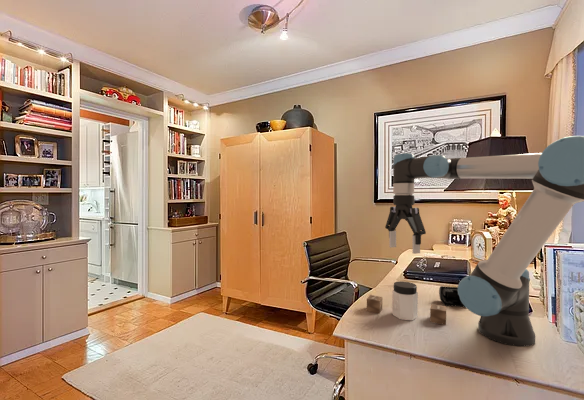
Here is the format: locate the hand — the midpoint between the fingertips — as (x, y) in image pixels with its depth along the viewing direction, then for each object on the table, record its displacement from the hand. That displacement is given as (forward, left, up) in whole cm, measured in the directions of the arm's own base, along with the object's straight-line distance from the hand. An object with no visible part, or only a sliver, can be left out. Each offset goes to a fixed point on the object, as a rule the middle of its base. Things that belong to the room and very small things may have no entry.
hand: (403, 250), depth 113 cm
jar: (-2, +1, -25) cm, 25 cm away
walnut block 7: (+6, +9, -25) cm, 27 cm away
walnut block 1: (-9, -8, -25) cm, 27 cm away
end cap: (+3, -27, -25) cm, 37 cm away
